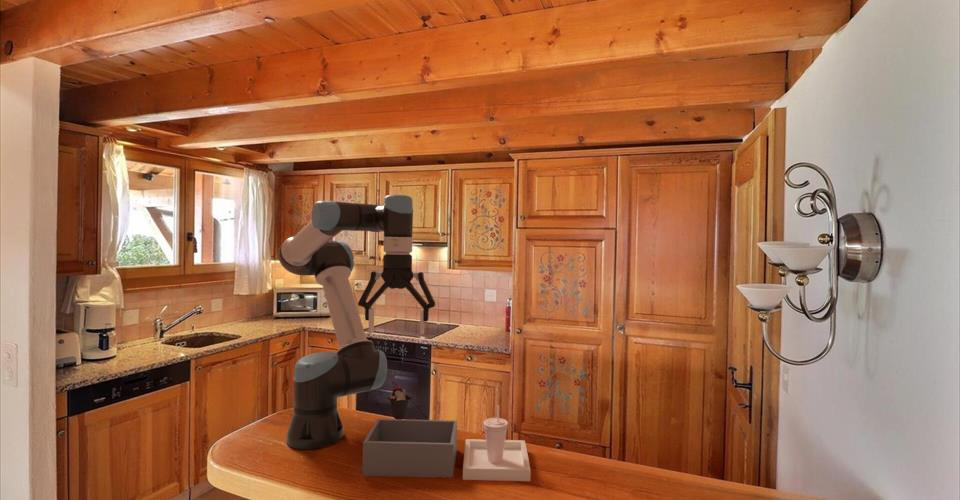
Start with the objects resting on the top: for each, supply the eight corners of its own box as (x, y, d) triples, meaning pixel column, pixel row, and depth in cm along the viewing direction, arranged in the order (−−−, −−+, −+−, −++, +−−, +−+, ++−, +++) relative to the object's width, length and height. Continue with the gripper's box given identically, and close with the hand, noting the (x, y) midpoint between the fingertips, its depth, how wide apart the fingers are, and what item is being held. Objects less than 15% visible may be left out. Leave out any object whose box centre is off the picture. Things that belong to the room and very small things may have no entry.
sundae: (382, 431, 134) (383, 381, 133) (401, 425, 139) (401, 376, 138) (396, 438, 129) (397, 386, 129) (414, 431, 134) (415, 381, 134)
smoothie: (505, 467, 111) (506, 411, 111) (480, 464, 113) (481, 408, 112) (509, 455, 118) (510, 402, 117) (485, 452, 119) (485, 399, 119)
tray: (462, 479, 107) (462, 468, 107) (465, 448, 123) (465, 439, 123) (530, 481, 107) (530, 469, 107) (524, 450, 123) (524, 440, 123)
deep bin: (362, 475, 108) (363, 442, 108) (377, 448, 123) (377, 418, 123) (452, 477, 108) (453, 444, 108) (456, 449, 123) (457, 420, 122)
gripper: (346, 253, 117) (345, 335, 117) (443, 254, 116) (442, 336, 117) (355, 252, 124) (354, 329, 125) (445, 254, 124) (444, 331, 124)
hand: (396, 333), depth 121 cm, fingers open, 13 cm apart
